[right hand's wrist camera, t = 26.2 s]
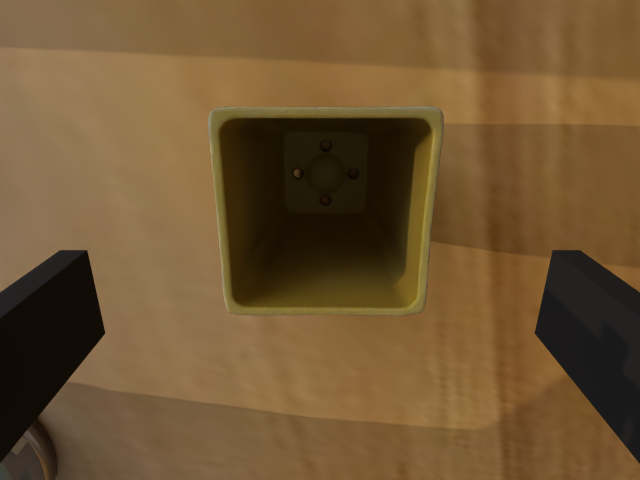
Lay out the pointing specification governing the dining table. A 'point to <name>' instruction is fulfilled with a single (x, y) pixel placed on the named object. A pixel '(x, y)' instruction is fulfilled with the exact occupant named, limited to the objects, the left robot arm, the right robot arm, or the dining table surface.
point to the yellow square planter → (325, 208)
